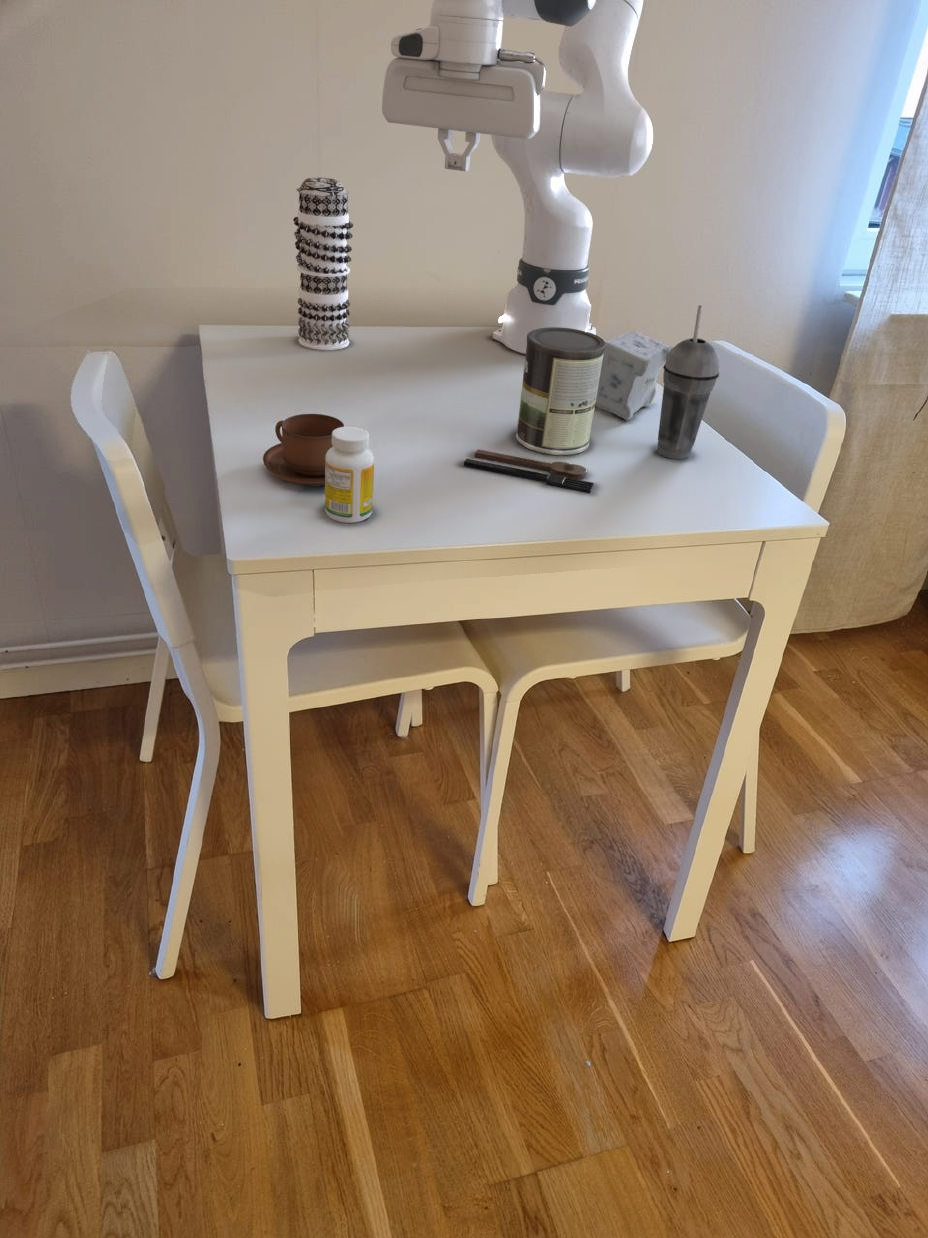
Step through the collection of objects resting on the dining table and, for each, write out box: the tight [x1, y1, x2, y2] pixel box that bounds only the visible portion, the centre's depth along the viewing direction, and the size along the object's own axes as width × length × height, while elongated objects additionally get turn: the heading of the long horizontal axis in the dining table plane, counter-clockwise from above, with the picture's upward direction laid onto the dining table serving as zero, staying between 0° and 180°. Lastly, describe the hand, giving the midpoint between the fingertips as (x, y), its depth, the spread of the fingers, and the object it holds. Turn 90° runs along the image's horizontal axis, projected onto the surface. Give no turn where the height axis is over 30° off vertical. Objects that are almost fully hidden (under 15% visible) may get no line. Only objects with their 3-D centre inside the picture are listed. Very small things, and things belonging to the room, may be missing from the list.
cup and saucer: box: [262, 413, 345, 486], centre depth 112 cm, size 12×12×6 cm
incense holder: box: [595, 329, 674, 422], centre depth 139 cm, size 10×8×10 cm
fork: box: [463, 458, 594, 494], centre depth 118 cm, size 2×17×1 cm, turn 73°
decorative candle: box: [292, 177, 354, 351], centre depth 150 cm, size 9×9×25 cm
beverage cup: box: [656, 305, 720, 460], centre depth 123 cm, size 7×7×20 cm
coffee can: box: [515, 327, 607, 456], centre depth 124 cm, size 10×10×14 cm
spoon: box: [474, 448, 588, 480], centre depth 120 cm, size 3×15×1 cm, turn 73°
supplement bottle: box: [324, 426, 375, 524], centre depth 103 cm, size 5×5×10 cm
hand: (456, 169), depth 121 cm, fingers closed
